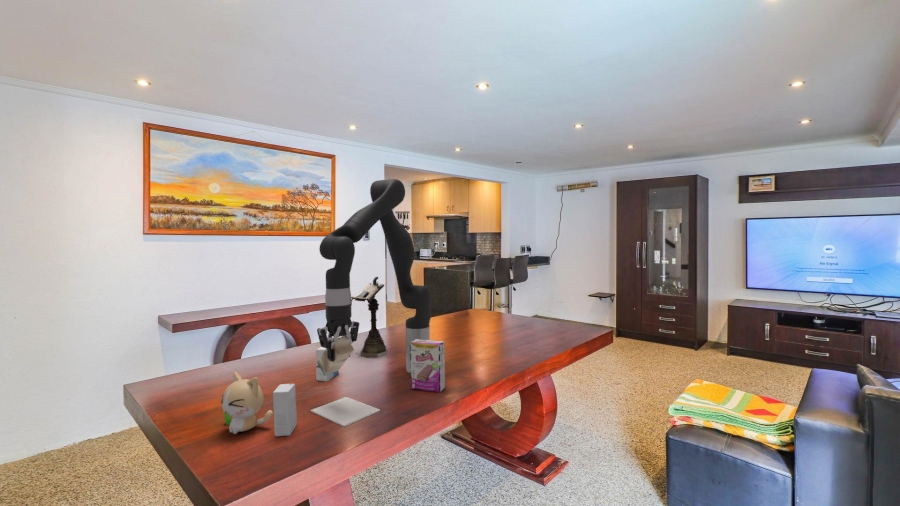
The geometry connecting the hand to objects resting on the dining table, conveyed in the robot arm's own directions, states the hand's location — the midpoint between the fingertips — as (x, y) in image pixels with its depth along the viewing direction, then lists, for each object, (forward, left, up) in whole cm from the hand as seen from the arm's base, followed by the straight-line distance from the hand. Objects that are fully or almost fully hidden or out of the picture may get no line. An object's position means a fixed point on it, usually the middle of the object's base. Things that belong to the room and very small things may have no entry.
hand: (339, 358), depth 125 cm
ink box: (+7, -31, -16) cm, 35 cm away
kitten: (+26, +7, -16) cm, 31 cm away
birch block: (+4, -5, -4) cm, 7 cm away
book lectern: (-9, -56, -16) cm, 59 cm away
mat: (-1, +2, -16) cm, 16 cm away
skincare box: (+14, +11, -16) cm, 24 cm away
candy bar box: (-28, -11, -16) cm, 34 cm away
